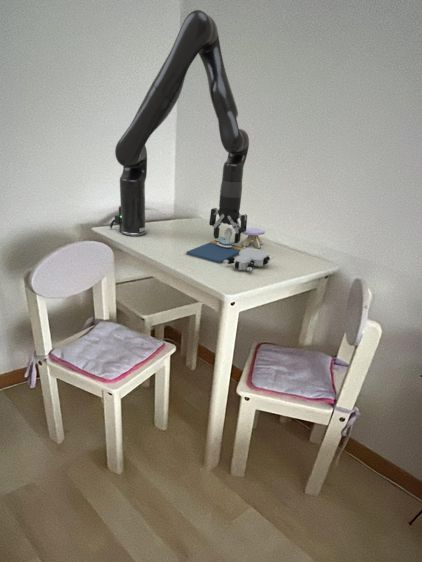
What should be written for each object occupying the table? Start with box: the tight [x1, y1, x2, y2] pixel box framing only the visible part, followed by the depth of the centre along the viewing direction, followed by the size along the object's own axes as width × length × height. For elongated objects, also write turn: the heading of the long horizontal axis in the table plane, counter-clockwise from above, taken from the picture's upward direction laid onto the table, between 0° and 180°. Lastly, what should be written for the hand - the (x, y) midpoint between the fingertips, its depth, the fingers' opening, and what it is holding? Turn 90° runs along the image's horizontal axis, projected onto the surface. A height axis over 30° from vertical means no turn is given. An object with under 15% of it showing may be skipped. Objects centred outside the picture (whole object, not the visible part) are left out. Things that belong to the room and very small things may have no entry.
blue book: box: [186, 239, 245, 264], centre depth 156 cm, size 14×20×1 cm
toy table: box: [242, 227, 266, 249], centre depth 166 cm, size 10×9×6 cm
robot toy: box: [222, 246, 275, 272], centre depth 144 cm, size 12×4×15 cm
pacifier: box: [217, 227, 235, 248], centre depth 158 cm, size 7×6×6 cm
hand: (226, 240), depth 159 cm, fingers open, 8 cm apart
